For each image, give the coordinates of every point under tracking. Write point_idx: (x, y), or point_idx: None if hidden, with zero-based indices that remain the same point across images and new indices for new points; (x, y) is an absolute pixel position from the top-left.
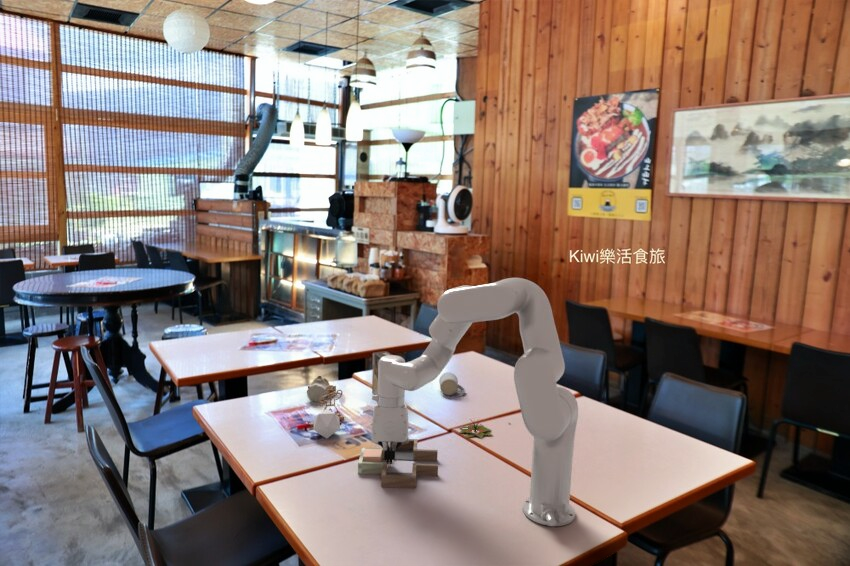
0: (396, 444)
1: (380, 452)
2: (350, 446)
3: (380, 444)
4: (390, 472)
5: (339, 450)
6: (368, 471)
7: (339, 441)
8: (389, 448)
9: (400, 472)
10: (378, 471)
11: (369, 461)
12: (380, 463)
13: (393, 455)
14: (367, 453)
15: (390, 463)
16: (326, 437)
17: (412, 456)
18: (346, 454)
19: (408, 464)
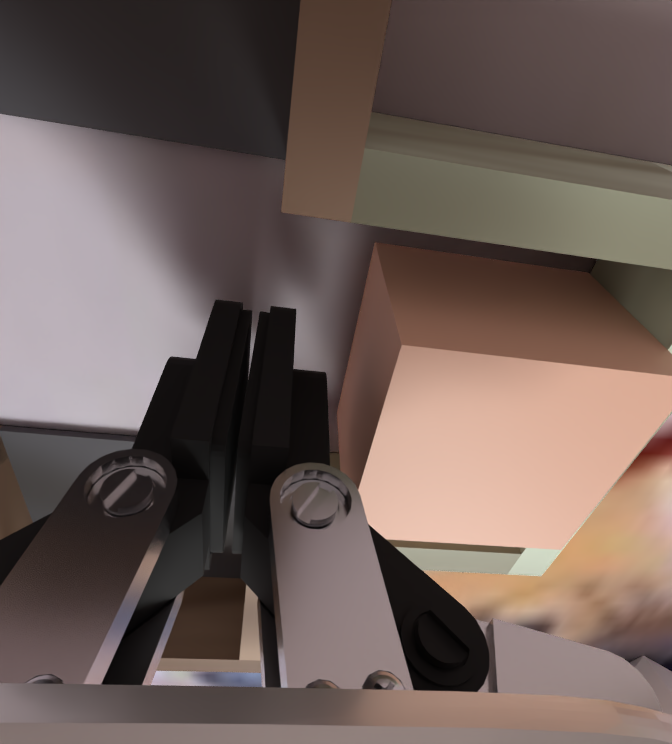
0: (7, 587)
1: (380, 472)
2: (538, 600)
3: (422, 595)
4: (239, 136)
5: (637, 565)
6: (576, 153)
7: (584, 637)
8: (234, 524)
9: (79, 122)
10: (430, 129)
11: (554, 321)
12: (423, 177)
13: (173, 399)
14: (579, 455)
15: (236, 305)
16: (652, 664)
17: (27, 482)
18: (614, 524)
19: (32, 353)
